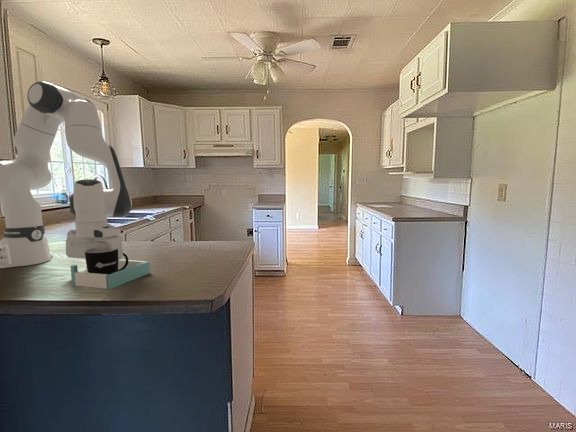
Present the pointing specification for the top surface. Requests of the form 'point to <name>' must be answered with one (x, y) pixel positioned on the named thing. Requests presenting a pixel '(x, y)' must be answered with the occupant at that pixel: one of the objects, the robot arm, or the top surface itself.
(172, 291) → the top surface
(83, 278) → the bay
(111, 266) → the mug
